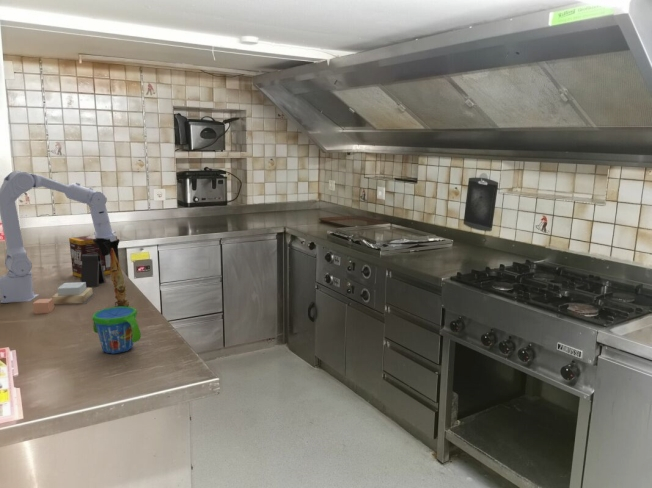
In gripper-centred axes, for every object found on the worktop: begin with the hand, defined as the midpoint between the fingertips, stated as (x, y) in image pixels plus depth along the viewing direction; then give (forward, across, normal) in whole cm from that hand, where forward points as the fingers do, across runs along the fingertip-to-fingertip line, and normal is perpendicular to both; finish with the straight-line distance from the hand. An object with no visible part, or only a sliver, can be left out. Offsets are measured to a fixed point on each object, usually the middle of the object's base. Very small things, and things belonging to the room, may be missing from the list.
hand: (110, 256), depth 200 cm
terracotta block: (+6, -19, +32) cm, 37 cm away
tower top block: (+4, -12, +20) cm, 24 cm away
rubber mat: (+8, -12, +21) cm, 25 cm away
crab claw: (+9, -31, +12) cm, 34 cm away
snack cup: (+7, -65, +29) cm, 72 cm away
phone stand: (+10, +3, +8) cm, 13 cm away
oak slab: (+7, -12, +21) cm, 25 cm away
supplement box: (+11, +20, 0) cm, 23 cm away
